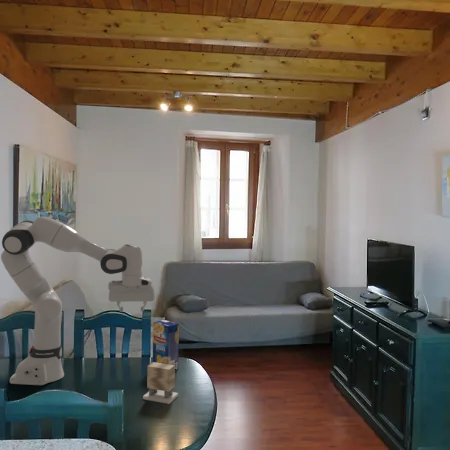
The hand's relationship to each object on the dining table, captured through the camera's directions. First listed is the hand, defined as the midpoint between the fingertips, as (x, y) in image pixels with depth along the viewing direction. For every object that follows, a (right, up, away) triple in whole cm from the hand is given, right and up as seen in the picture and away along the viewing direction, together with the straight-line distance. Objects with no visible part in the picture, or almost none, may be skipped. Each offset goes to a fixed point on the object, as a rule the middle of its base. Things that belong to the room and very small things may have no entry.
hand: (131, 311), depth 193 cm
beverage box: (+13, -31, +16) cm, 37 cm away
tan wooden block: (+16, -28, -17) cm, 36 cm away
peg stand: (+16, -32, -17) cm, 40 cm away
